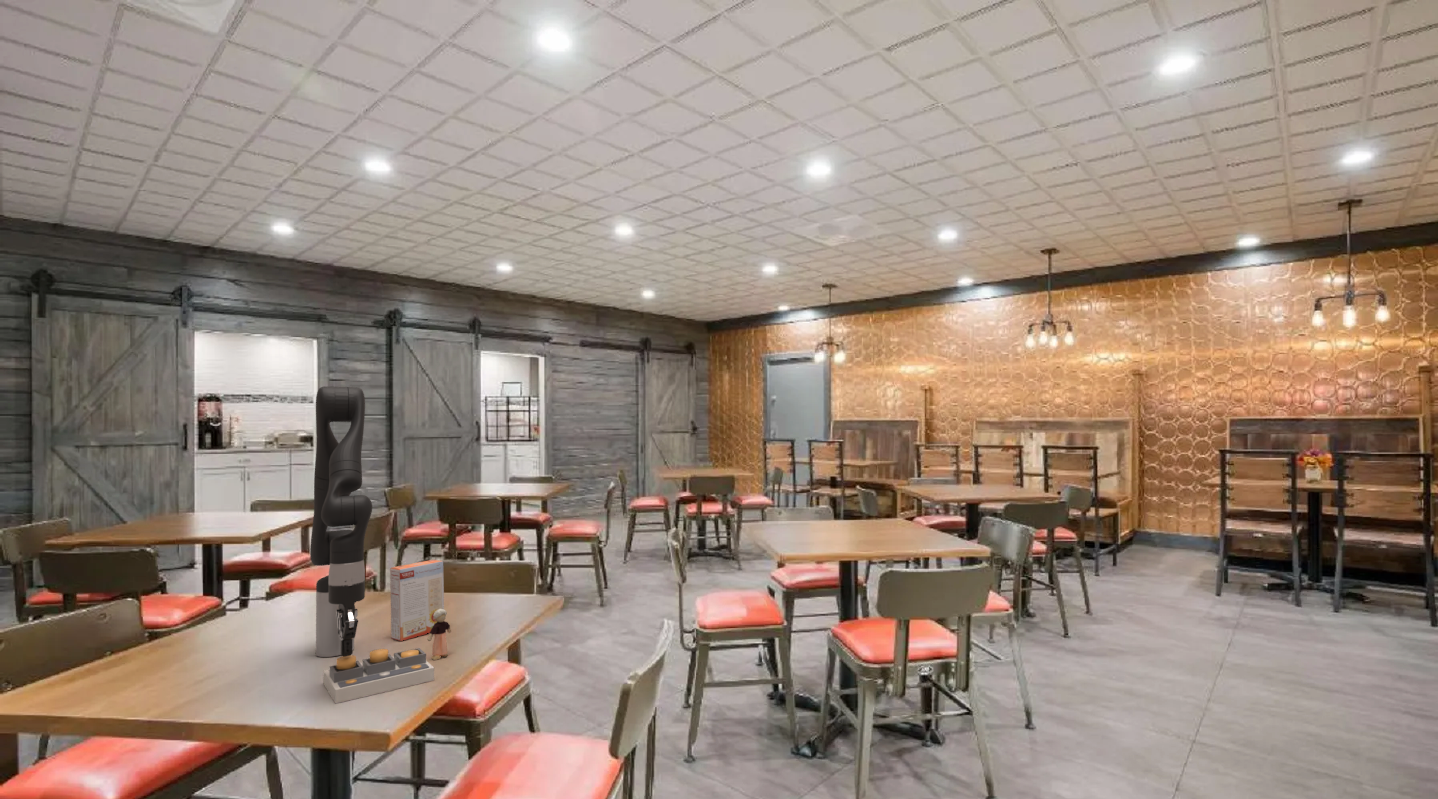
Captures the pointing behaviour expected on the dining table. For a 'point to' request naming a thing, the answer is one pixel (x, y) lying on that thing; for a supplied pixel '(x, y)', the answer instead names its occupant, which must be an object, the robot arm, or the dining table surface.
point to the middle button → (378, 655)
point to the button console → (377, 676)
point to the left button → (346, 662)
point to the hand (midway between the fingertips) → (346, 655)
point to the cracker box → (415, 598)
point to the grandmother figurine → (439, 635)
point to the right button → (409, 653)
